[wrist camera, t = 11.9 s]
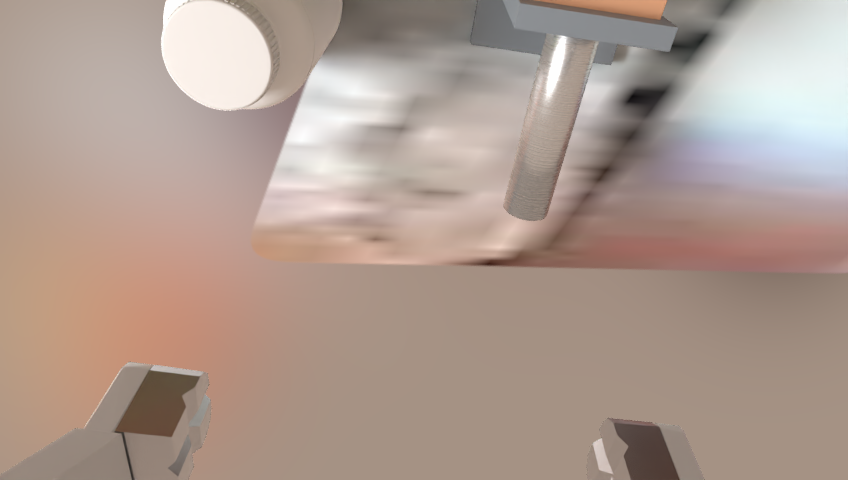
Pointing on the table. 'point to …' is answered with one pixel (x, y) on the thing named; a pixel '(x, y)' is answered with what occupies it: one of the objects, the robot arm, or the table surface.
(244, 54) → the pill bottle
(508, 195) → the shaft
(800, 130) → the table surface
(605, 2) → the spacer
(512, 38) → the grey post stand
